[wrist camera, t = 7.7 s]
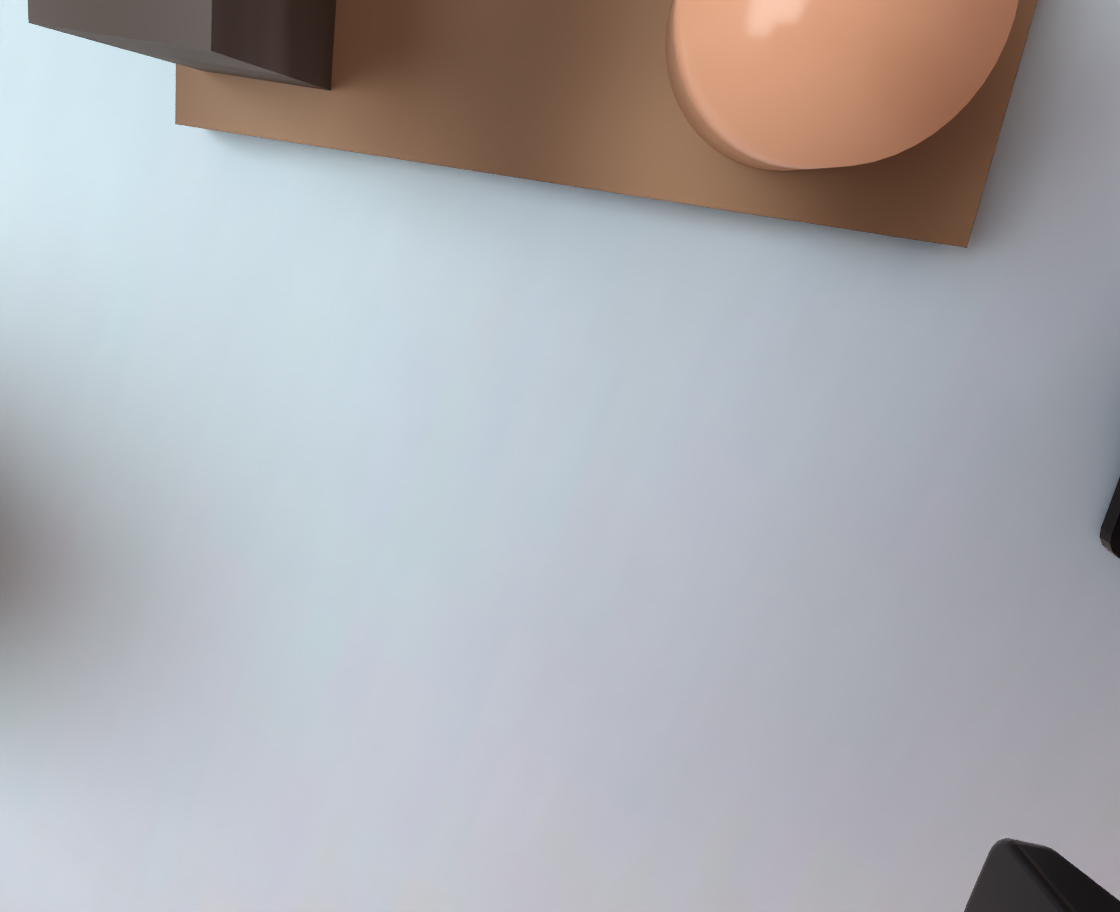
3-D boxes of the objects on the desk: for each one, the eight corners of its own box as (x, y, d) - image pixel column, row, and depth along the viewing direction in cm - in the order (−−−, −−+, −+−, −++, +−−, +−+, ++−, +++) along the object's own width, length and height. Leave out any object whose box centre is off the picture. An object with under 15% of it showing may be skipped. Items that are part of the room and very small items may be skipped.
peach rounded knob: (949, -83, 15) (1069, -178, 11) (882, 188, 16) (966, 189, 12) (690, -122, 15) (718, -230, 11) (645, 151, 16) (655, 141, 12)
